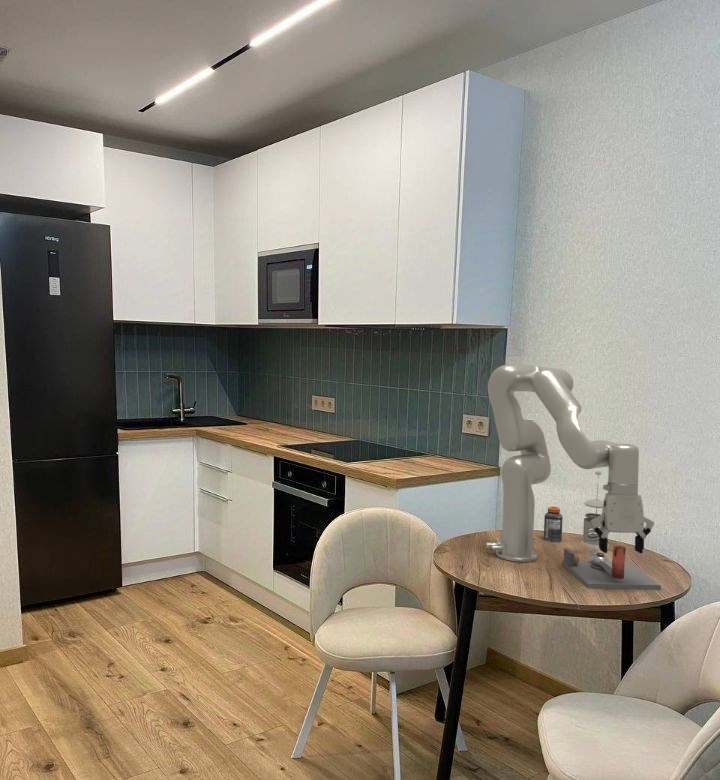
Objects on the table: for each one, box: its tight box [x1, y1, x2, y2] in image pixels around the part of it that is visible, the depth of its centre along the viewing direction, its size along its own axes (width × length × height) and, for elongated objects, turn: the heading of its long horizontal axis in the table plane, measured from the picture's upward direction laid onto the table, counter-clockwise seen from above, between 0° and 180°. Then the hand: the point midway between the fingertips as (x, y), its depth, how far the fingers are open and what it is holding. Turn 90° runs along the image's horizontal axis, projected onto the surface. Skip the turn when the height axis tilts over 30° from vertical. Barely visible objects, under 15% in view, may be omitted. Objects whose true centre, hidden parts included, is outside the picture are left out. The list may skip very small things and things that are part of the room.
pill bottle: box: [543, 506, 563, 543], centre depth 219 cm, size 6×6×11 cm
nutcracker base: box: [562, 547, 662, 590], centre depth 182 cm, size 20×20×5 cm
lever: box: [588, 544, 627, 579], centre depth 182 cm, size 4×19×9 cm, turn 1°
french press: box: [579, 470, 610, 548], centre depth 215 cm, size 10×12×25 cm
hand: (621, 551), depth 173 cm, fingers open, 9 cm apart
